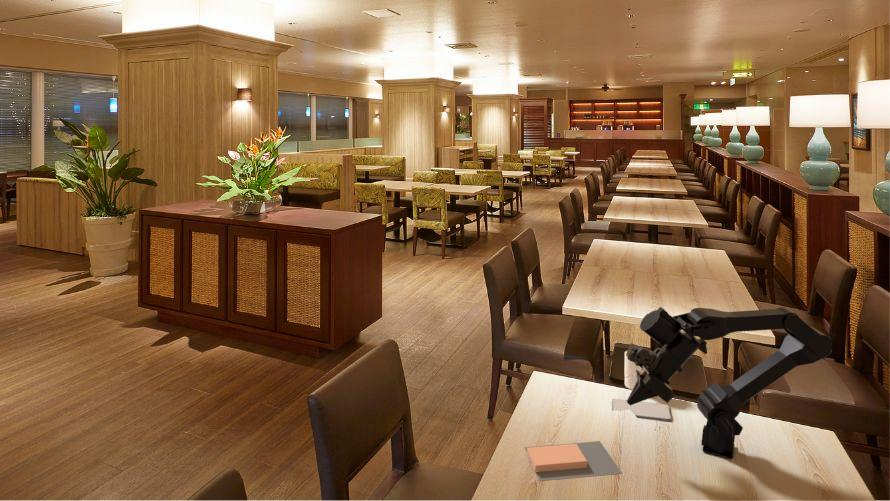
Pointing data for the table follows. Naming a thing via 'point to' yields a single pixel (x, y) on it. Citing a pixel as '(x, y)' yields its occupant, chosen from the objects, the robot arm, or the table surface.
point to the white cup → (630, 373)
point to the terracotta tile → (556, 457)
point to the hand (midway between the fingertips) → (628, 403)
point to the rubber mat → (596, 463)
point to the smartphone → (644, 409)
